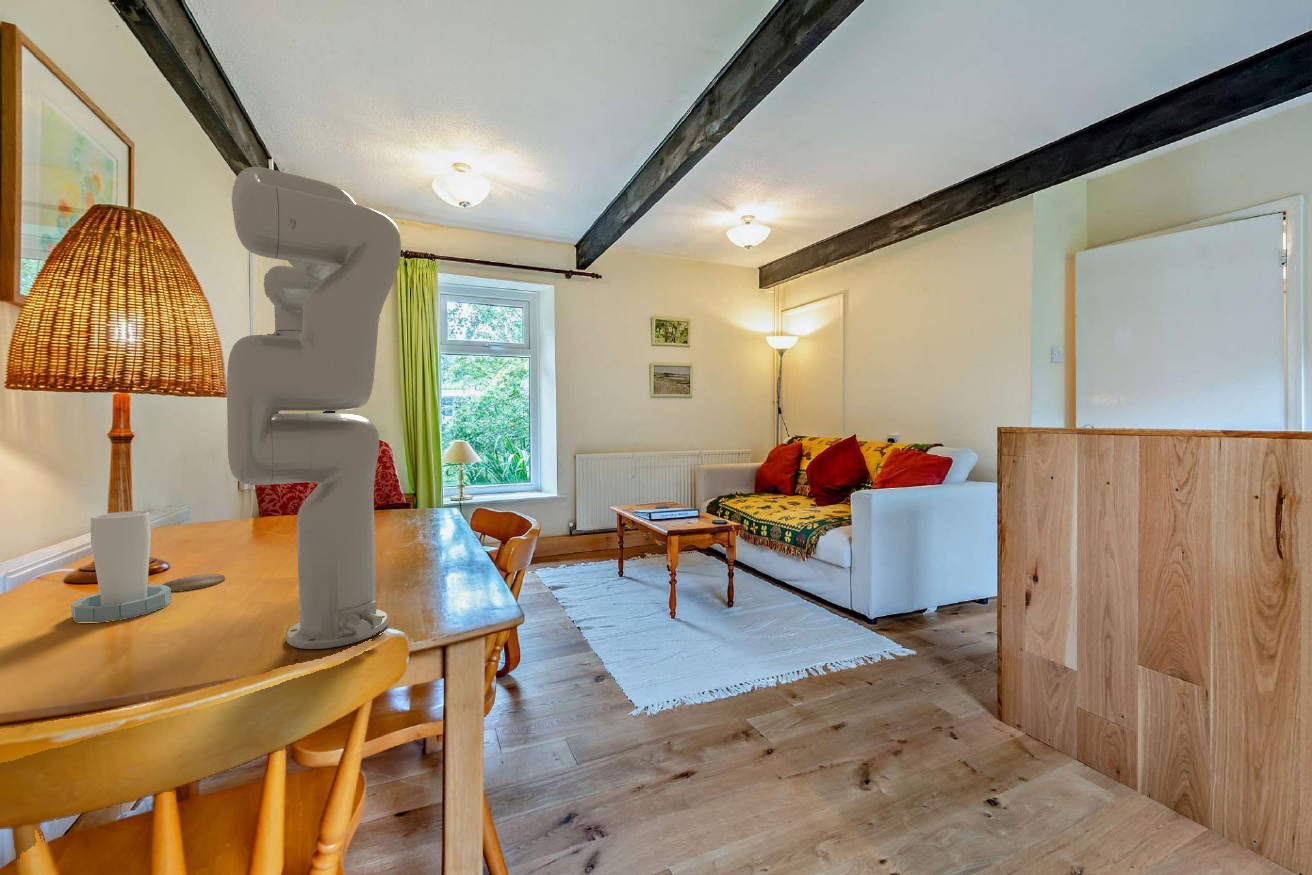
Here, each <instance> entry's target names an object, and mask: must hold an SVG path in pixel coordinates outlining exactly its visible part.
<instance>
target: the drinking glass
mask: <svg viewBox="0 0 1312 875" xmlns="http://www.w3.org/2000/svg"><path fill="white" fill-rule="evenodd" d="M151 528H152V526H151V517H150V512H149V511H146V510H128V511H117V512H110V513H109V512H108V513H102V514H98V515H97V514H96V515H94V516H91V517H90V542H91V551H92V557H93V560H94V561H93V562H94V567H95V574H96V579H97V586H98V591H99V592H98V593H100V604H101V606H104V605H112V604H121V603H125V602H130V601H135V600H139V599H143V598H146V597H148V596H147V585H149V584H148V582H149V568H150V567H149V566H150V556H151V554H150V553H151V541H152V540H151V539H152V538H151V537H152V532H151V531H152V529H151Z"/></svg>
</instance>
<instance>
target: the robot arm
mask: <svg viewBox="0 0 1312 875" xmlns="http://www.w3.org/2000/svg"><path fill="white" fill-rule="evenodd" d="M231 207H232V212H233V213H232V214H233V220H234V221H233V222H234V227H235V231H236V232H235V233H236V234H237V237H238V240H239V242H240V243H241V244H242V246H243V247H244V249H246V250H247V251H248V252H250V253H252V254H254V255H257V256H260V257H264V258H269V259H273V260H274V259H275V260H283V261H288V264H290V266H287V265H275V266H272V268H271V267H270V269H269V270H268V271H267V272H266V273H265V274H264V277H263V278H264V279H263V288H264V294H265V296H266V298H268V299H269V300H270V302H271V303H272V305H274V308H273V309H274V329H275V330H274V332H273V333H267V334H252V335H251V334H250V335H247V336H244V337H242V338H240V339H238V340H237V341H236V342H235V343H234V345H233V346H232V347H231V351H230V353H229V357H228V360H227V361H228V362H227V370H226V371H227V373H226V398H227V399H226V406H227V407H226V410H227V411H226V412H227V413H226V414H227V415H226V417H227V419H226V420H227V421H226V422H227V428H226V429H227V458H228V465H229V468H230V472H231V475H233V477H234V478H235V479H236V480H237V481H238V482H240V483H243V484H246V485H250V486H252V485H253V486H265V485H268V486H269V485H281V484H282V485H283V484H286V485H287V484H297V483H317V486H316V487H315V488H314V489H313V490H312V491H311V493H310V494H309V495H308V496H307V497H306V498H305V499H304V501H303V502H302V504H301V505H300V507H299V509H298V512H297V514H296V515H297V516H296V542H297V543H296V544H297V549H296V550H297V572H298V573H297V575H298V576H297V577H298V580H297V582H298V608H299V611H298V613H299V621H298V622H297V623H295V624H294V625H292V626H291V627H290V628H289V629H288V630H287V632H286V642H287V644H288V645H290V646H291V647H294V648H297V649H303V650H322V649H331V648H337V647H342V646H346V645H347V646H348V645H352V644H354V643H357V642H361V641H363V640H366V639H369V638H371V637H373V636H375V635H377V634H379V633H380V632H382V631H383V630H384V629H386V627H387V626H388V623H389V615H388V614H387V613H386V612H385V611H383V610H381V609H377V593H376V592H377V588H376V555H375V554H376V553H375V551H376V547H375V546H376V545H375V506H374V505H375V503H374V502H375V499H374V498H375V497H374V496H375V479H376V472H377V464H378V459H379V451H380V436H379V432H378V428H377V427H376V426H375V424H374V423H373V422H372V421H370V420H369V419H368V418H365V417H363V416H361V415H356V414H349V413H336V412H337V411H349V410H351V411H352V410H356V409H359V408H362V407H364V406H365V405H366V404H367V403H368V402H369V400H370V398H371V395H372V391H373V386H374V381H375V371H376V358H377V346H378V336H379V335H378V334H379V322H380V318H381V317H380V316H381V312H382V310H383V307H384V305H385V302H386V300H387V298H388V296H389V294H390V292H391V289H392V287H393V285H394V283H395V279H396V276H397V274H398V270H399V266H400V263H401V262H400V260H401V256H402V255H401V254H402V252H401V250H402V243H401V241H402V240H401V234H400V231H399V228H398V226H397V224H396V223H395V221H393V220H392V219H391V218H390V217H389V216H388V215H386V214H384V213H382V212H380V211H378V210H376V209H373V208H370V207H367V206H364V205H361V204H358V203H356V202H355V201H354V199H353V197H351V196H350V195H349V194H348V193H347V192H346V191H344V190H343V189H341V188H339V187H337V186H336V185H334V184H331V183H328V182H325V181H321V180H317V179H313V178H310V177H304V176H300V175H296V174H293V173H288V172H283V171H280V170H276V169H271V168H266V167H262V166H250V167H245V168H244V169H243V170H241V171H240V172H239V173H238V175H237V176H236V178H235V180H234V183H233V186H232V193H231ZM283 411H284V412H285V411H286V412H287V411H288V412H289V411H293V412H294V411H305V413H279V412H283ZM307 411H310V412H311V411H319V412H311V413H309V412H308V413H307ZM320 411H321V412H322V413H321V412H320ZM379 631H380V632H379ZM378 632H379V633H378ZM376 633H377V634H376ZM372 635H373V636H372Z"/></svg>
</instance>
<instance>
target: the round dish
mask: <svg viewBox="0 0 1312 875" xmlns="http://www.w3.org/2000/svg"><path fill="white" fill-rule="evenodd" d="M147 596H148V597H146V598H143V599H139V600H135V601H130V602H125V603H121V604H112V605H104V606H101V604H100V593H99V592H98V593H94V594H91V595H87V596H85V597H84V596H83V597H81V598H79V599H78V600H75V601H74V602H72V603H70V607H71V608H70V610H71V617H72V619H73V620H74V621H76V622H106V621H112V620H120V619H124V618H130V619H133V618H132V617H134V616H138V615H142V616H144V615H143V614H146V613H149V614H152V613H154V612H153V611H155V612H157V611H156V610H158V609H160V610H162V609H161V608H163V607H165V608H167V607H168V606H169V605H170V604H171V600H172V592H171V588H170V587H168V586H166V585H162V584H147ZM169 603H170V604H169ZM167 605H168V606H167ZM163 609H164V608H163ZM158 611H159V610H158ZM151 612H152V613H151ZM146 615H147V614H146ZM134 618H135V617H134ZM73 620H72V621H73ZM74 621H73V622H74ZM120 621H121V620H120Z"/></svg>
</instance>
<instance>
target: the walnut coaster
mask: <svg viewBox="0 0 1312 875" xmlns="http://www.w3.org/2000/svg"><path fill="white" fill-rule="evenodd" d="M225 579H226V576H225V575H224V574H221V573H220V574H218V573H206V574H205V573H204V574H197V575H191V576H184V577H180V578H176V579H172V580H169V581H167V582H164V583H163V584H161V585H166V586H168V587H170V588H171V591H180V590H189V591H193V590H192V589H195V590H198V589H197V588H201V587H205V588H209V587H211V586H210V585H213V586H216V585H218V583H219V584H221V583H223V582H225ZM208 586H209V587H208ZM201 589H202V588H201ZM180 592H181V591H180Z"/></svg>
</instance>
